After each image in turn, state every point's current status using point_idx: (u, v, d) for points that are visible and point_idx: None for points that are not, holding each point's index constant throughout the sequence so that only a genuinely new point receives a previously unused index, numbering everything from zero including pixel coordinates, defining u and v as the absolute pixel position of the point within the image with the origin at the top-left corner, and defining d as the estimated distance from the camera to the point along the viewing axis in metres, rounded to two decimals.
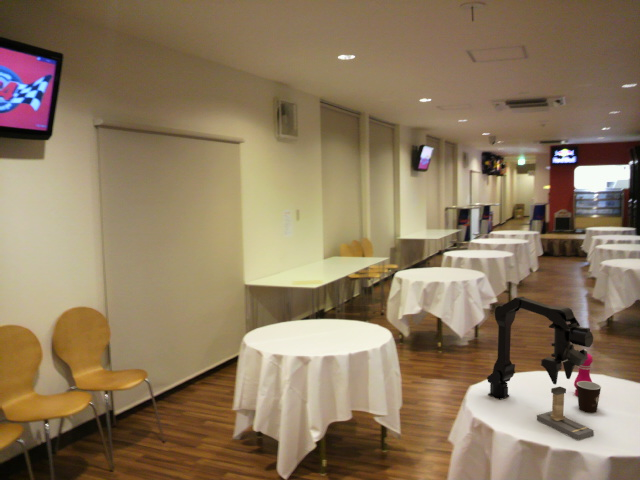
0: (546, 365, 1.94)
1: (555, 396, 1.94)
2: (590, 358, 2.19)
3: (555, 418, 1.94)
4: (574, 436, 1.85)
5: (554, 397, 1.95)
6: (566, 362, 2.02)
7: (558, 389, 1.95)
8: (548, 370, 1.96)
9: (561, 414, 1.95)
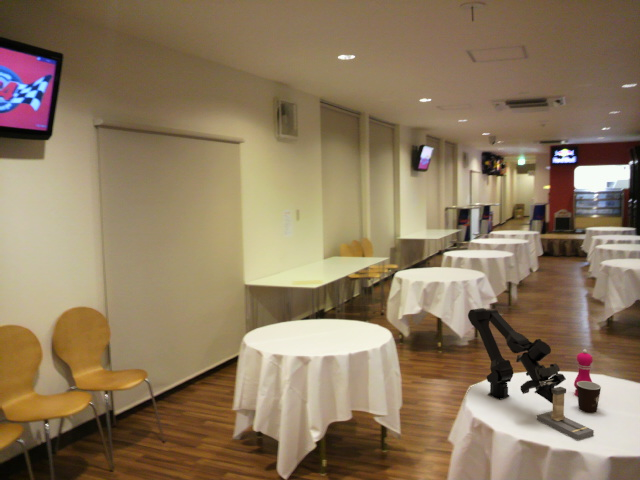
0: (524, 389, 1.98)
1: (555, 396, 1.94)
2: (590, 358, 2.19)
3: (555, 418, 1.94)
4: (574, 436, 1.85)
5: (554, 397, 1.94)
6: None
7: (558, 389, 1.94)
8: (541, 394, 2.00)
9: (561, 414, 1.95)
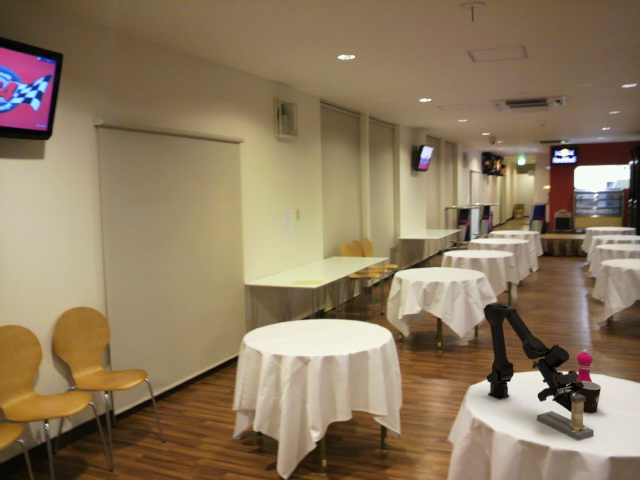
0: (542, 397, 1.90)
1: (574, 404, 1.87)
2: (590, 358, 2.19)
3: (574, 427, 1.87)
4: (574, 436, 1.85)
5: (573, 405, 1.87)
6: None
7: (577, 397, 1.87)
8: (559, 402, 1.92)
9: (580, 423, 1.88)
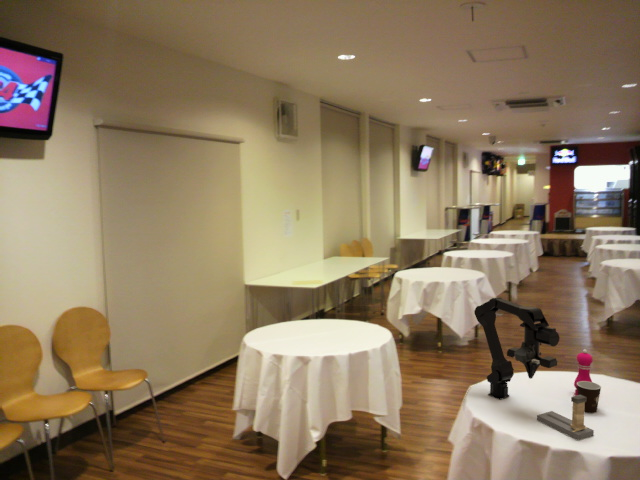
0: None
1: (575, 405, 1.86)
2: (590, 358, 2.19)
3: (575, 428, 1.87)
4: (574, 436, 1.85)
5: (574, 406, 1.87)
6: None
7: (579, 397, 1.87)
8: None
9: (581, 423, 1.87)
